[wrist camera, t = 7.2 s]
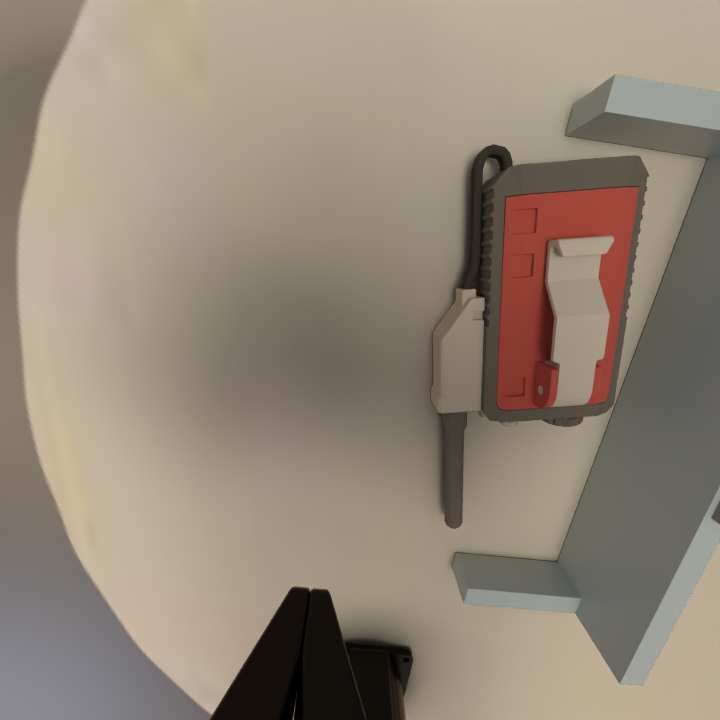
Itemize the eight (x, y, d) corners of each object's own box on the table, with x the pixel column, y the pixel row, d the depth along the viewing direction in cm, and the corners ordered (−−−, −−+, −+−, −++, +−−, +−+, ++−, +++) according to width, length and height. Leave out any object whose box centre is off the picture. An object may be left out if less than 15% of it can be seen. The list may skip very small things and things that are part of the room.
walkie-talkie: (425, 160, 16) (430, 511, 21) (450, 121, 11) (448, 573, 17) (612, 145, 16) (568, 501, 21) (707, 101, 11) (620, 561, 17)
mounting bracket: (569, 577, 22) (659, 711, 16) (452, 566, 22) (494, 699, 15) (743, 132, 15) (1051, 29, 8) (573, 104, 15) (754, -27, 8)
